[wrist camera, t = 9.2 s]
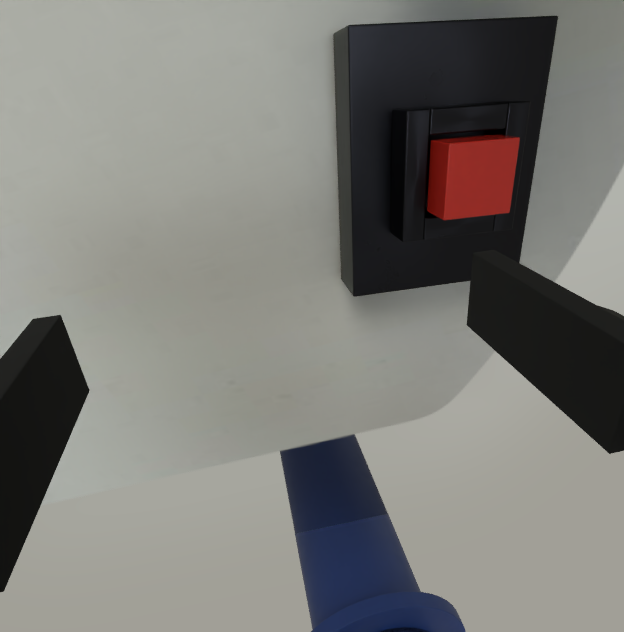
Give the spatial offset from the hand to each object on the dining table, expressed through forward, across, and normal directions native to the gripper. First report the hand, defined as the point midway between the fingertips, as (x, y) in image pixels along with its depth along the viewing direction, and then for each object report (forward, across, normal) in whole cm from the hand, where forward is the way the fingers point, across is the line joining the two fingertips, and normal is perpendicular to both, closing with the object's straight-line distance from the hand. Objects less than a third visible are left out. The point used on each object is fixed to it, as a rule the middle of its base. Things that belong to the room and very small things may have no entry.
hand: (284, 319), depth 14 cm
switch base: (+14, +11, +2) cm, 18 cm away
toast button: (+10, +11, +2) cm, 15 cm away
